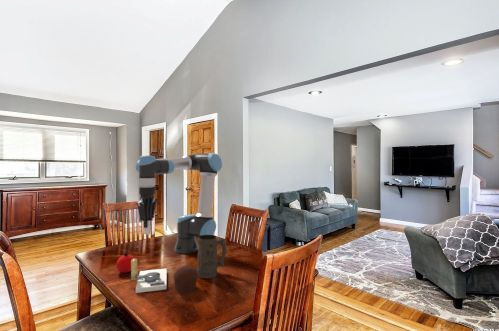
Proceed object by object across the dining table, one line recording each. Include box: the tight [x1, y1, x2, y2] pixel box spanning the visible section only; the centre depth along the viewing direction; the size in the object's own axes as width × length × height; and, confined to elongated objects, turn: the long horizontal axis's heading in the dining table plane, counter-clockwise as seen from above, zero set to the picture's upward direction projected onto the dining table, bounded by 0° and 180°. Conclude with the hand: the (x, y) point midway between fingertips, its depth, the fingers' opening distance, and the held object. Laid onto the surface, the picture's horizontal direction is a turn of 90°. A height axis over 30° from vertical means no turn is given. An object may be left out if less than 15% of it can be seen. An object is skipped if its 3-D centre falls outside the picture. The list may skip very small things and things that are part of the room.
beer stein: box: [196, 234, 228, 279], centre depth 140 cm, size 15×11×20 cm
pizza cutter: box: [130, 258, 160, 282], centre depth 127 cm, size 13×7×10 cm, turn 108°
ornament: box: [116, 252, 135, 274], centre depth 141 cm, size 9×9×10 cm
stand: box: [135, 268, 168, 294], centre depth 130 cm, size 13×20×4 cm, turn 17°
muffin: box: [172, 265, 199, 295], centre depth 123 cm, size 12×11×10 cm
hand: (147, 233), depth 134 cm, fingers closed
